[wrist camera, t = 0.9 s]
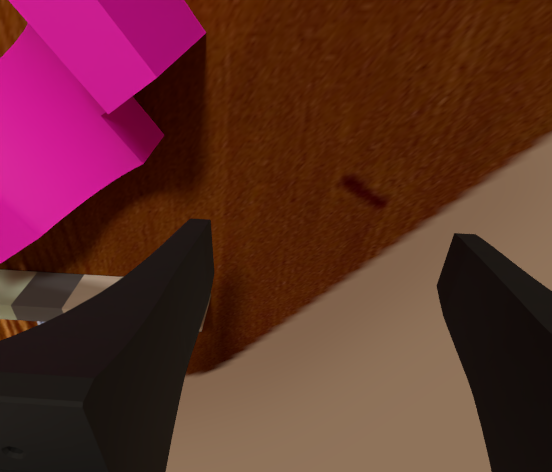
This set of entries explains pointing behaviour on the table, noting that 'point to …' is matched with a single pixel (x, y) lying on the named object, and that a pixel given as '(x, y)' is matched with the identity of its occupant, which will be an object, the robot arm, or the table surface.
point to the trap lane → (48, 293)
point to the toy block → (79, 103)
